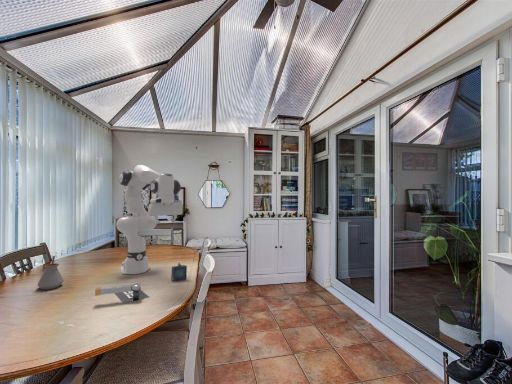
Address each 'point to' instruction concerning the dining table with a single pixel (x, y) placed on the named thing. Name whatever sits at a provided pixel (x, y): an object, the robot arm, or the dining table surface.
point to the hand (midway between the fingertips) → (165, 222)
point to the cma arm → (117, 289)
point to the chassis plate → (127, 300)
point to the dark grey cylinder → (136, 295)
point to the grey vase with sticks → (50, 276)
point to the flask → (179, 272)
